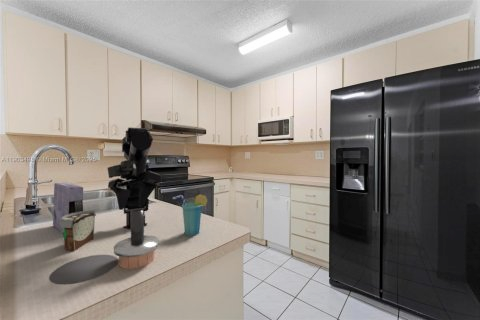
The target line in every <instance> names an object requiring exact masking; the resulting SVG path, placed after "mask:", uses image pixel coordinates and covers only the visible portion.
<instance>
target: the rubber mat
mask: <svg viewBox="0 0 480 320" xmlns="http://www.w3.org/2000/svg"><path fill="white" fill-rule="evenodd" d="M118 264H119V258H117V257H116V255H110V254H95V255H87V256H84V257H81V258H77V259H74V260H72V261H69V262H66V263H65V264H62V265H60V266H59V267H57V268H56V269H55V270H53V271H52V272H51V273H50V274H49V277H48V279H49V281H50V282H51V283H53V284H54V285H72V284H74V285H75V284H81V283H83V282H87V281H90V280H94V279H97V278H99V277H101V276H103V275H106V274H107V273H109V272H110V271H113V269H115V268H116V266H117V265H118Z"/></svg>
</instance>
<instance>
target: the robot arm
mask: <svg viewBox="0 0 480 320" xmlns="http://www.w3.org/2000/svg"><path fill="white" fill-rule="evenodd" d="M153 139H154V137H153V135H151V133H150V131H149V129H148V128H144V127H143V128H142V127H128V128H127V130H125V136H124V137H123V138H122V139H121V152H122V153H123V157H124V159H126V160H122V161H121V162H120V164H115V165H112V166H108V167H107V174H108V179H111V180H110V181H108V185H107V188H108V189H110V190H111V191H113V192H114V193H115V197H116V200H117V205H118V210H121V211H122V210H123V214H124V215H126V219H125V220H126V221H125V222H126V223H125V225H123V226H122V227H123V229H128V230H131V211H132V210H137V209H142V210H144V212H148V211H149V204H150V203H149V202H150V199H149V197H150V195H151V194H152V193H153V191H154V190H155V189H156V187H158V184H161V183H162V176H161V175H160V174H159V173H157V172H154V171H151V170H147V169H149V167H150V165H149V164H147V163H148V162H147V161H148V156H149V155H148V154H149V153H150V149H151V147H152V143H153ZM116 177H118V178H116ZM119 177H120V178H119ZM112 178H114V179H112ZM147 225H148V223H147V222H146V215H145V214H144V227H145V226H147Z"/></svg>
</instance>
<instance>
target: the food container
mask: <svg viewBox="0 0 480 320" xmlns="http://www.w3.org/2000/svg"><path fill="white" fill-rule="evenodd" d="M96 216H97V213H96V210H83V211H81V212H76V213H71V214H68V215H65V216H63V217H62V219H61V220H60V224H59V226H60V227H62V229H63V232H62V235H63V243H64V245H63V246H64V249H65V251H69V252H76V251H77V250H79V249H80V248H81V247H83V246H85V245H86V244H87V243H89V242H91V241H92V240H94V239H95V223H96V222H95V219H96Z"/></svg>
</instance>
